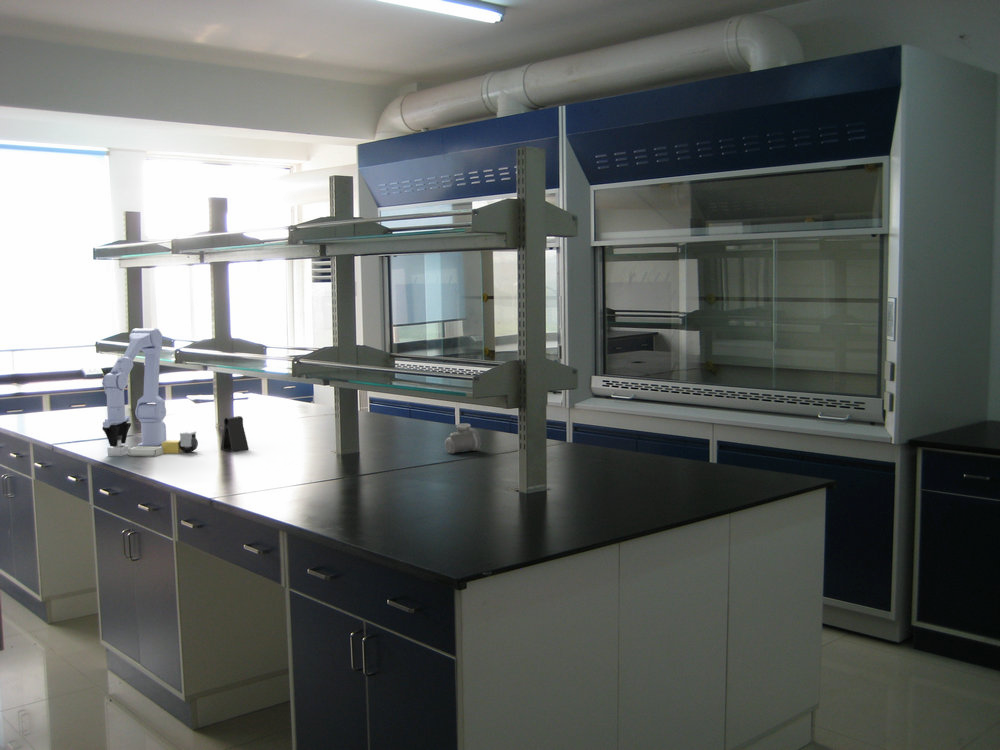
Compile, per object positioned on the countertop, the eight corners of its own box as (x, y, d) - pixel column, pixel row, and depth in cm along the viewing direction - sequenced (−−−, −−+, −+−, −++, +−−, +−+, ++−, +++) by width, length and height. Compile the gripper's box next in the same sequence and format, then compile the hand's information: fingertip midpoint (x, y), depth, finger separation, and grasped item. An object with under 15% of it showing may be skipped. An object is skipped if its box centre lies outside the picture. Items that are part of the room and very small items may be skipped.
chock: (167, 451, 327) (167, 440, 327) (183, 451, 327) (182, 440, 326) (162, 453, 323) (161, 442, 323) (178, 453, 323) (177, 442, 322)
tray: (137, 452, 323) (137, 446, 323) (163, 453, 322) (163, 446, 322) (128, 455, 317) (128, 449, 317) (155, 456, 316) (155, 449, 316)
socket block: (115, 453, 323) (115, 445, 322) (128, 453, 322) (128, 445, 322) (107, 455, 318) (107, 447, 318) (121, 456, 317) (120, 447, 317)
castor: (183, 450, 327) (182, 431, 326) (199, 451, 326) (198, 431, 325) (178, 453, 322) (177, 433, 322) (193, 453, 322) (193, 433, 321)
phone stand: (220, 449, 330) (219, 416, 329) (234, 447, 334) (233, 415, 333) (234, 452, 324) (233, 419, 323) (248, 449, 328) (247, 417, 327)
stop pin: (116, 453, 322) (115, 434, 321) (124, 454, 321) (123, 434, 321) (111, 455, 319) (110, 436, 318) (120, 455, 318) (119, 436, 318)
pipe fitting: (469, 447, 328) (467, 420, 325) (482, 452, 321) (480, 424, 319) (442, 454, 321) (440, 427, 318) (454, 459, 314) (452, 431, 312)
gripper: (116, 404, 326) (118, 441, 327) (93, 409, 312) (95, 448, 313) (134, 404, 325) (136, 441, 326) (113, 409, 311) (114, 448, 312)
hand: (117, 444), depth 320 cm, fingers open, 5 cm apart
